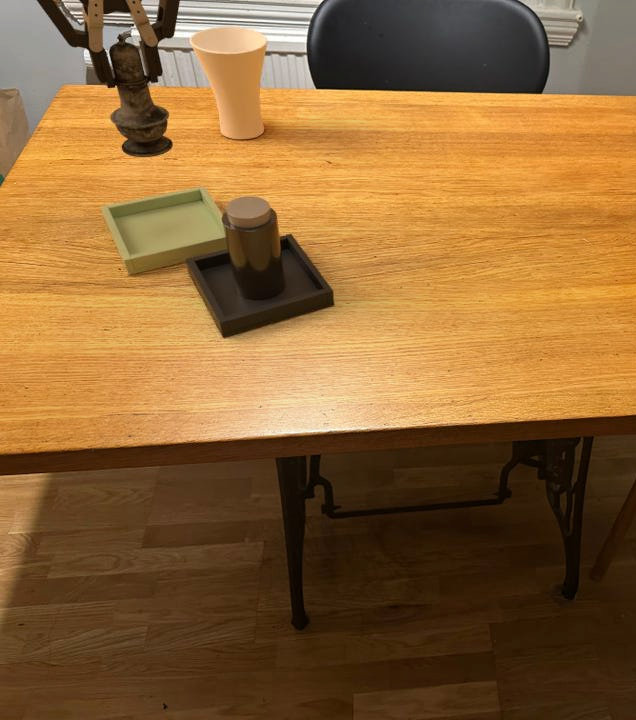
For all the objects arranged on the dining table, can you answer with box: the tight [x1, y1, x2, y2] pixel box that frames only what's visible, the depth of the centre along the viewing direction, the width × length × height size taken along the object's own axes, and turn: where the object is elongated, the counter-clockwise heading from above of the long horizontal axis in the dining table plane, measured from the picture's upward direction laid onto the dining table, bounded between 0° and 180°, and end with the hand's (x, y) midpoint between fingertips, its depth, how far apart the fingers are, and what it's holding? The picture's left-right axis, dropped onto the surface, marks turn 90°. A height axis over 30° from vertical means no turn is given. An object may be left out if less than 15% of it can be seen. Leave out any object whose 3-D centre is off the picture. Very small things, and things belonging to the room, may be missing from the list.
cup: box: [189, 26, 268, 140], centre depth 103 cm, size 10×10×14 cm
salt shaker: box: [108, 33, 174, 158], centre depth 74 cm, size 6×6×12 cm
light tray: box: [100, 185, 227, 276], centre depth 85 cm, size 13×13×2 cm
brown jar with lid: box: [222, 195, 285, 300], centre depth 76 cm, size 6×6×10 cm
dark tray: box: [185, 233, 335, 338], centre depth 79 cm, size 13×13×2 cm
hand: (132, 81), depth 73 cm, fingers closed on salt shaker, 3 cm apart
